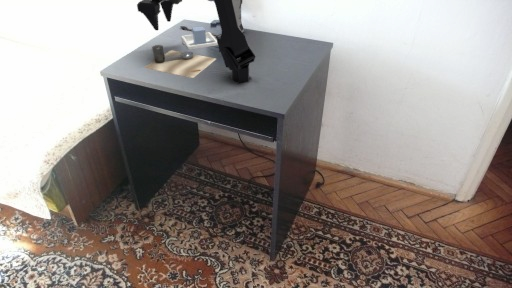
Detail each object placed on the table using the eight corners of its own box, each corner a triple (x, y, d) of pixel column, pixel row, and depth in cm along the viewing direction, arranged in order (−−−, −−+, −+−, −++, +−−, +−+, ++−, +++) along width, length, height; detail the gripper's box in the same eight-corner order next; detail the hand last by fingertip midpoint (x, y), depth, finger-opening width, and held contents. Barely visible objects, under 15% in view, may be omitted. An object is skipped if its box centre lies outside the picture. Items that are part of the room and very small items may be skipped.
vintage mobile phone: (241, 34, 146) (240, -31, 131) (230, 33, 147) (227, -32, 132) (243, 31, 149) (242, -33, 134) (232, 30, 150) (230, -34, 135)
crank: (191, 53, 127) (190, 39, 124) (194, 58, 124) (193, 44, 121) (153, 59, 123) (151, 45, 120) (155, 64, 119) (153, 50, 116)
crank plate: (217, 62, 125) (216, 58, 124) (193, 82, 113) (193, 77, 112) (171, 53, 130) (170, 49, 129) (144, 71, 119) (144, 67, 118)
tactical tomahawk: (227, 36, 148) (227, 33, 147) (218, 39, 143) (218, 37, 142) (188, 26, 156) (188, 23, 155) (178, 29, 151) (178, 26, 151)
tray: (218, 48, 135) (218, 42, 133) (189, 53, 131) (188, 46, 130) (210, 38, 143) (209, 32, 142) (182, 42, 140) (181, 35, 138)
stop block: (206, 45, 136) (205, 29, 132) (196, 46, 135) (194, 31, 131) (203, 41, 139) (202, 26, 135) (193, 42, 138) (192, 27, 134)
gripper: (165, -14, 104) (172, 37, 114) (190, -28, 118) (195, 19, 128) (131, -17, 106) (141, 34, 116) (160, -30, 121) (166, 16, 130)
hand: (163, 25), depth 122 cm, fingers open, 9 cm apart
